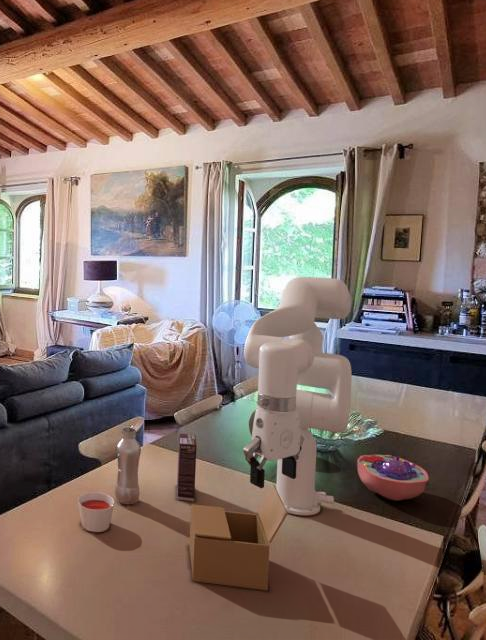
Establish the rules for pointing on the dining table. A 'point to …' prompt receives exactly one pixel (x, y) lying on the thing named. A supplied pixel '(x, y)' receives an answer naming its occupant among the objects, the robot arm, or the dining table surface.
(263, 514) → the flap
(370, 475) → the cell model
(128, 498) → the silver metal bottle
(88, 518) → the white cup
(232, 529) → the carton
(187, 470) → the supplement box
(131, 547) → the dining table surface
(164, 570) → the dining table surface
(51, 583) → the dining table surface
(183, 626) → the dining table surface
